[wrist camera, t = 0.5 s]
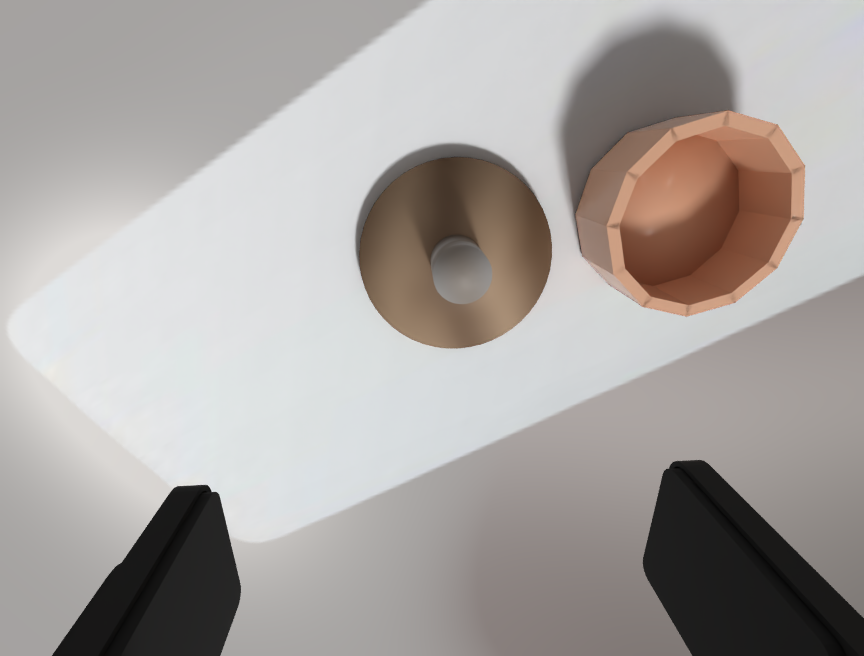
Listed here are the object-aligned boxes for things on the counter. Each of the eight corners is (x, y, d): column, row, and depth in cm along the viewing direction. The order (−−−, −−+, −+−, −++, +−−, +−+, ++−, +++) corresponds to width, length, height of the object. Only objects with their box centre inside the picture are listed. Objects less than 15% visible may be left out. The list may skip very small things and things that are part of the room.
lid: (526, 129, 27) (549, 124, 23) (562, 314, 32) (588, 341, 27) (332, 192, 28) (316, 199, 24) (396, 363, 33) (393, 397, 28)
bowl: (739, 97, 27) (807, 84, 22) (743, 264, 31) (801, 283, 26) (564, 152, 27) (595, 152, 23) (591, 308, 32) (622, 335, 27)
